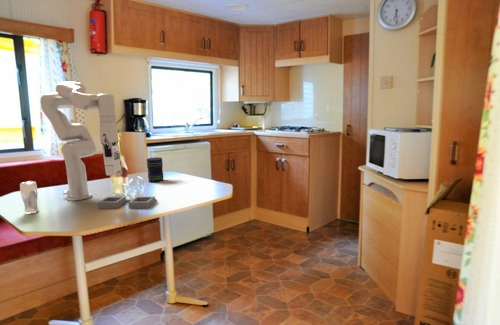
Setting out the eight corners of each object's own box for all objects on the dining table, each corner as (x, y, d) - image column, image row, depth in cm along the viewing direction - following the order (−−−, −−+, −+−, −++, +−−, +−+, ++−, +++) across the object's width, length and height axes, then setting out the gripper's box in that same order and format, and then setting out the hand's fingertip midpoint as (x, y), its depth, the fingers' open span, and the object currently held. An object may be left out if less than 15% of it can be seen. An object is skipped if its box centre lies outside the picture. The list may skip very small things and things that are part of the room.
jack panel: (98, 208, 177) (97, 202, 177) (109, 201, 189) (109, 195, 189) (148, 208, 175) (147, 202, 174) (156, 201, 187) (156, 195, 186)
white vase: (37, 209, 178) (32, 180, 175) (42, 211, 174) (38, 182, 171) (21, 213, 173) (16, 183, 170) (26, 215, 168) (22, 185, 166)
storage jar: (167, 180, 235) (165, 158, 232) (155, 183, 226) (154, 160, 224) (156, 178, 240) (154, 157, 237) (145, 181, 232) (143, 159, 229)
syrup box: (116, 175, 175) (112, 146, 172) (105, 175, 176) (102, 146, 174) (122, 173, 181) (119, 144, 178) (112, 173, 182) (108, 145, 179)
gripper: (109, 118, 182) (113, 153, 186) (91, 120, 166) (95, 158, 169) (123, 118, 182) (126, 153, 185) (106, 120, 165) (110, 158, 168)
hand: (111, 155), depth 177 cm, fingers closed on syrup box, 6 cm apart
